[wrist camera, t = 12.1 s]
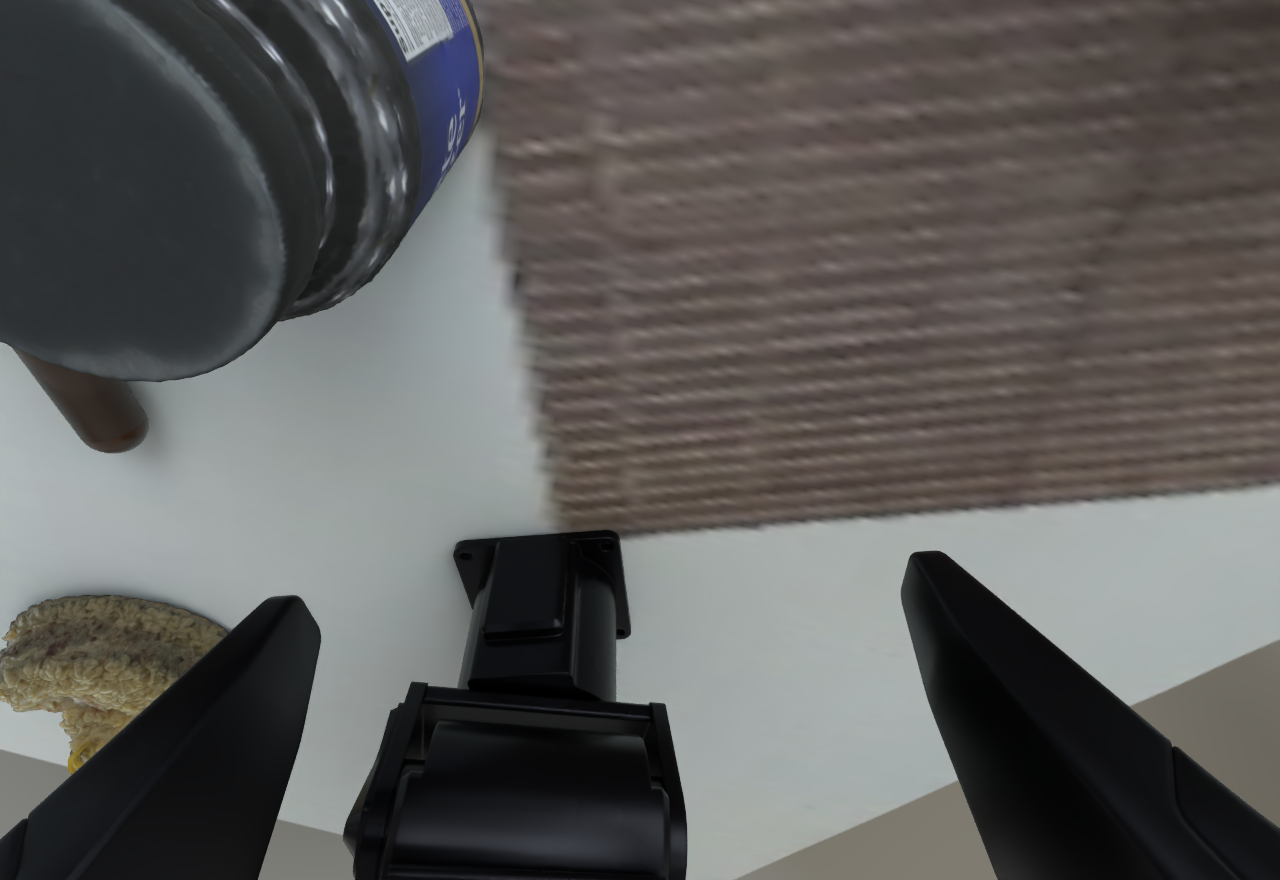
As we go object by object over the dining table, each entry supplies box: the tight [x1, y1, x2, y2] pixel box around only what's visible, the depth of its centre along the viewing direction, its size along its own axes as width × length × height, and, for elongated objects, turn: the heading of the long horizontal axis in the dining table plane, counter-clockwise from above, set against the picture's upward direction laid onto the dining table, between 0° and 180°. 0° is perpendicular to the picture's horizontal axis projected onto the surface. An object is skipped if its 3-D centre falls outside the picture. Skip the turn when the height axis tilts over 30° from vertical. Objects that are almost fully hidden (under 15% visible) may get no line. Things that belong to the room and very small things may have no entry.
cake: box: [0, 595, 228, 775], centre depth 28 cm, size 10×10×5 cm
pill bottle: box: [0, 0, 484, 382], centre depth 11 cm, size 6×6×11 cm
